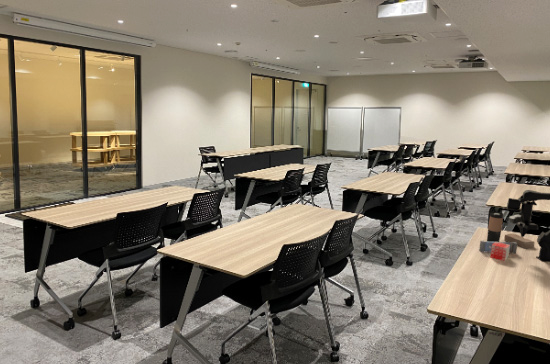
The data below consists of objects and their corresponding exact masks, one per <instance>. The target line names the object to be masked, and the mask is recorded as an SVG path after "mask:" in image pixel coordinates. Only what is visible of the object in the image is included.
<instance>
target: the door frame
mask: <svg viewBox="0 0 550 364" xmlns="http://www.w3.org/2000/svg"><path fill="white" fill-rule="evenodd" d="M485 243H486V242H485V240H480V244H479V249H478V250H479V252H480V253H485V251H484V250H485ZM517 244H518V243H516V242H513V245H512V252H511V254H517V249H518V245H517Z"/></svg>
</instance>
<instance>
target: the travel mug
mask: <svg viewBox="0 0 550 364" xmlns="http://www.w3.org/2000/svg"><path fill="white" fill-rule="evenodd" d="M503 219H504V213H503V212H499V211H491V212H490V214H489V220H488V221H489V222H488V228H487V235H486V241H487V242H500V239H501V234H502V227H503Z"/></svg>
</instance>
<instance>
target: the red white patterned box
mask: <svg viewBox="0 0 550 364" xmlns="http://www.w3.org/2000/svg"><path fill="white" fill-rule="evenodd" d="M500 242H501V241H499V242H495V243H493V244H492V249H491V252H490V256H489V257H490V258H492V259H496V260H500V261H504V262H505V261H506V260H507V259H508V258H509V255H510V253H509V249H510V245H509V244H504V243H500Z"/></svg>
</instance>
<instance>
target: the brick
mask: <svg viewBox="0 0 550 364" xmlns="http://www.w3.org/2000/svg"><path fill="white" fill-rule="evenodd" d="M504 242H516V243H518V244H517V247H520V248H523V249H533V248H535V241H534V240H531V239H529V238H524V237H521V235H519V234H517V233H508V234H504Z"/></svg>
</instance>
